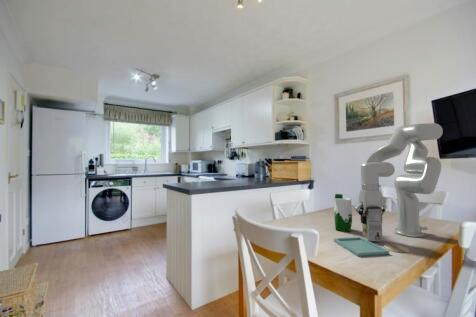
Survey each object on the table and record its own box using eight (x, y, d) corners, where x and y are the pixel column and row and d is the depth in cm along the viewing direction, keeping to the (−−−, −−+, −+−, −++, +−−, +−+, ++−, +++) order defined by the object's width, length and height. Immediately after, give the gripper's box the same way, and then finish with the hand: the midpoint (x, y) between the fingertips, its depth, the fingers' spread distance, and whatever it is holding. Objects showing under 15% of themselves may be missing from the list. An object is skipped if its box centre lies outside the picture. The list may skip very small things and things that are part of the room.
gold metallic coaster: (397, 244, 105) (396, 243, 105) (414, 252, 96) (414, 251, 96) (379, 245, 103) (379, 244, 103) (395, 253, 95) (395, 252, 95)
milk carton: (336, 226, 135) (335, 193, 135) (352, 228, 130) (352, 194, 130) (333, 230, 127) (333, 195, 128) (351, 232, 122) (350, 196, 123)
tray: (360, 239, 111) (360, 236, 111) (389, 254, 94) (389, 251, 94) (333, 241, 110) (333, 238, 110) (358, 256, 92) (358, 253, 92)
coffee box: (362, 234, 117) (360, 203, 117) (375, 235, 115) (374, 203, 115) (368, 241, 108) (367, 207, 108) (383, 241, 106) (381, 207, 106)
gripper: (380, 186, 117) (381, 219, 116) (349, 187, 114) (350, 222, 114) (392, 187, 109) (393, 223, 109) (359, 189, 107) (360, 226, 107)
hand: (371, 222), depth 112 cm, fingers closed on coffee box, 7 cm apart
